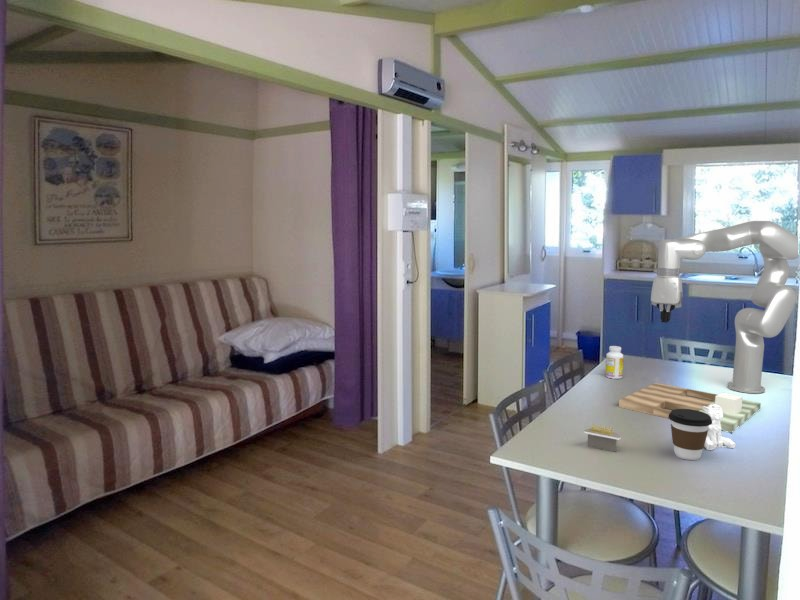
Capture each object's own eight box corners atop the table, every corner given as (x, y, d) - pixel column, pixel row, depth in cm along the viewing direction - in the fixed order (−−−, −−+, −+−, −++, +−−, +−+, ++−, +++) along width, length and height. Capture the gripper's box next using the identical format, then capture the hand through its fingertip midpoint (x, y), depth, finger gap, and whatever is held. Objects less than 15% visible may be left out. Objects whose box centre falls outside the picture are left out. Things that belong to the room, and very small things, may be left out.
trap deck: (655, 388, 234) (655, 382, 234) (760, 409, 210) (760, 402, 209) (618, 406, 212) (619, 399, 211) (731, 432, 187) (732, 425, 186)
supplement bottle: (620, 375, 254) (621, 345, 252) (624, 379, 247) (626, 348, 246) (603, 375, 255) (605, 345, 253) (607, 379, 248) (609, 348, 246)
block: (722, 407, 204) (723, 392, 204) (741, 411, 200) (742, 396, 199) (714, 410, 200) (715, 395, 200) (733, 415, 196) (734, 400, 195)
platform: (576, 437, 183) (577, 416, 183) (639, 449, 174) (640, 427, 173) (564, 449, 173) (565, 427, 172) (630, 463, 164) (631, 440, 163)
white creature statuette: (707, 451, 172) (711, 410, 170) (687, 440, 180) (690, 401, 178) (736, 449, 174) (740, 408, 172) (715, 438, 182) (718, 399, 180)
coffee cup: (689, 466, 161) (692, 422, 160) (657, 451, 171) (659, 410, 169) (718, 460, 165) (721, 417, 164) (685, 446, 175) (688, 406, 174)
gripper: (644, 272, 226) (641, 320, 229) (686, 275, 216) (682, 325, 219) (652, 271, 232) (649, 318, 234) (693, 273, 221) (689, 323, 224)
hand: (665, 321), depth 226 cm, fingers closed
